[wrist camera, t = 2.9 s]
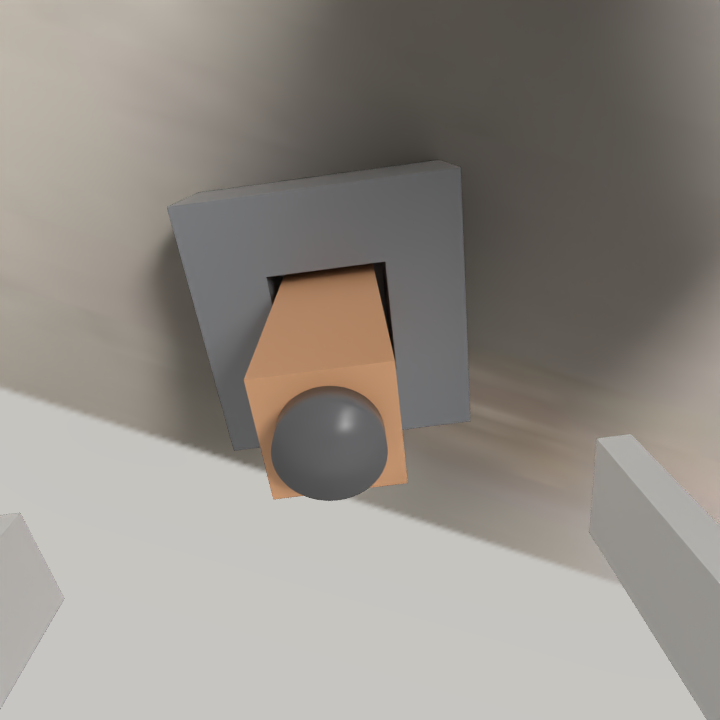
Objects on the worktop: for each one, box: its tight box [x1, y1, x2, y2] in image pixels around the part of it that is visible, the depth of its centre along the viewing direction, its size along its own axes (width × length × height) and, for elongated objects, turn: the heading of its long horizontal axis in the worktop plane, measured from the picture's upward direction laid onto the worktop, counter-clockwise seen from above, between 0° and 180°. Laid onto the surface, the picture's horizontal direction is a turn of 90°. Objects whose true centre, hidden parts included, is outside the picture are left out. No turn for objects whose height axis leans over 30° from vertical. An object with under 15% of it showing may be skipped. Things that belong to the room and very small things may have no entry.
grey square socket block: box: [167, 160, 471, 450], centre depth 25 cm, size 12×12×5 cm
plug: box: [244, 263, 408, 501], centre depth 20 cm, size 4×4×14 cm
